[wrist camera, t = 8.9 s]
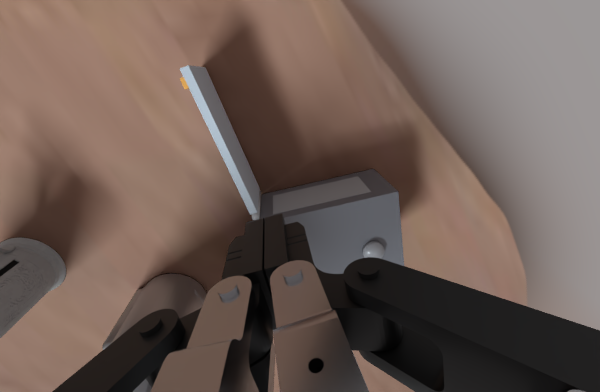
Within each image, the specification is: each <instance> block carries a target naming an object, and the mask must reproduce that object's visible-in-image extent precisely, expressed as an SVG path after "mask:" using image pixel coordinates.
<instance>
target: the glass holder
mask: <svg viewBox="0 0 600 392" xmlns="http://www.w3.org/2000/svg"><path fill="white" fill-rule="evenodd" d="M65 276H66V267H65V264H64V262H63V260H62V258H61V257H60V255H59V254H58V253H57V252H56V251H55V250H53V249H52V248H51V247H49V246H48V245H46V244H44V243H42V242H39V241H37V240H33V239H29V238H11V239H7V240H5V241H3V242H1V243H0V338H1V337H2V336H3V335H4V334H5V333H6V332H7V331H8V330H9V329H10V328H11V327H12V326H13V325H15V324H16V323H17V322H18V321H19V320H20V319H21V318H22V317H23V316H24V315H25V314H26V313H27V312H28V311H29V310H30V309H31V308H32V307H33V306H34V305H35V304H36V303H37V302H38V301H39V300H40V299H41V298H42V297H43V296H44V295H45V294H46V293H47V292H48V291H51V290H53V289H55V288H57V287H58V286H59V285H61V283H62V282H63V281H64V279H65Z"/></svg>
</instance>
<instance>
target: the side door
mask: <svg viewBox="0 0 600 392" xmlns="http://www.w3.org/2000/svg"><path fill="white" fill-rule="evenodd" d="M180 71H181V73H182V75H183V78H180V80H181V82H182V84H183V86H184V88H185V89H190V91H191V93H192V95H193V97H194V99H195V102H196V104H197V106H198V108H199V110H200V112H201V114H202V116H203V118H204V120H205V122H206V124H207V126H208V128H209V131H210V133H211V135H212V137H213V139H214V141H215V143H216V145H217V147H218V149H219V151H220V153H221V155H222V157H223V159H224V162H225V164H226V166H227V168H228V170H229V172H230V174H231V176H232V178H233V180H234V182H235V184H236V186H237V188H238V191H239V193H240V195H241V197H242V199H243V201H244V203H245V205H246V207H247V209H248V211H249V213H250V215H251V214H252V219H253V220H258V219H259V216H260V204H261V191H260V188H259V186H258V183H257V181H256V179H255V177H254V174H253V172H252V170H251V168H250V166H249V163H248V161H247V159H246V157H245V154H244V152H243V150H242V148H241V145H240V143H239V141H238V139H237V137H236V134H235V132H234V130H233V128H232V125H231V123H230V121H229V119H228V116H227V114H226V112H225V110H224V108H223V105H222V103H221V101H220V99H219V96H218V94H217V92H216V90H215V87H214V85H213V83H212V81H211V79H210V76H209V74H208V72H207V70H206V67H199V66H189V65H188V66H186V67H183V68H180Z"/></svg>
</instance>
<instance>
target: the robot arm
mask: <svg viewBox="0 0 600 392" xmlns="http://www.w3.org/2000/svg"><path fill="white" fill-rule="evenodd" d="M273 338H274V344H273ZM352 350H359V352H360V354H361V355H362V357H363V358H364V359H366V360H367V361H368V362H370V363H371V364H373V365H374V366H376V367H378V368H379V369H381V370H382V371H384V372H385V373H387V374H388V375H390V376H392V377H393V378H395V379H396V380H398V381H399V382H401V383H403V384H404V385H406V386H407V387H409V388H410V389H412V390H413V391H415V392H600V331H599V330H596V329H593V328H590V327H587V326H584V325H581V324H578V323H575V322H572V321H569V320H566V319H562V318H560V317H557V316H554V315H551V314H547V313H545V312H542V311H539V310H535V309H532V308H529V307H526V306H523V305H520V304H517V303H514V302H511V301H508V300H505V299H502V298H499V297H496V296H493V295H490V294H487V293H484V292H481V291H478V290H475V289H472V288H469V287H466V286H463V285H460V284H457V283H454V282H451V281H448V280H444V279H441V278H438V277H435V276H432V275H429V274H426V273H423V272H420V271H417V270H414V269H411V268H408V267H405V266H402V265H399V264H396V263H393V262H390V261H387V260H384V259H380V258H375V257H367V258H361V259H358V260H355V261H353V262H352V263H350V264H349V265H348V266H347V267H346V268H345V270H344V273H343V274H330V273H325V272H323V271H321V270H319V269H318V268H316V266H315V265H314V262H313V259H312V255H311V251H310V247H309V243H308V240H307V236H306V232H305V228H304V226H303V225H302V224H300V223H299V222H294V223H290V224H285V220H284V217H283V214H282V213H281V214H278V215H274V216H270V217H266V218H265V219H264V218H262V219H258V220H254V221H250V222H246V226H245V233H244V235H243V236H239V237H236V238H235V239H234V240H233V241H232V243H231V244H230V245H229V249H228V255H227V258H226V262H225V267H224V271H223V276H222V280H221V281H220V282H218V283H217V284H215V285H214V286H213V287H212V288H211V289H210V290H209V292H208V293H207V295H206V292H205V290H204V288H203V287H202V286H201V285H200V284H199V283H198V282H197V281H195V280H194V279H192V278H190V277H188V276H185V275H181V274H164V275H160V276H158V277H155V278H153V279H152V280H151V281H149V282H148V283H147V285H146V286H145V287H144V288H142V289H138V290H137V291H136V293H135V294H134V296H133V297H132V299H131V301H130V302H129V304H128V305H127V307H126V309H125V310H124V312H123V313H122V315H121V317H120V318H119V320H118V321H117V323H116V325H115V326H114V328H113V329H112V331H111V333H110V334H109V336H108V337H107V339H106V341H105V342H104V344H103V351H102V352H100V353H99V354H98V355H97V356H95V357H94V358H93V359H92V360H91V361H89V362H88V363H87V364H86V365H84V366H83V367H82V368H81V369H80V370H78V371H77V372H76V373H75V374H73V375H72V376H71V377H70V378H69V379H67V380H66V381H65V382H64V383H62V384H61V385H60V386H59V387H58V388H56V389H55V390H54V391H53V392H273V390H274V370H275V354H276V363H277V371H278V379H279V387H280V392H369V391H368V388H367V386H366V383H365V381H364V379H363V376H362V374H361V371H360V369H359V366H358V364H357V362H356V359H355V357H354V354H353V352H352Z"/></svg>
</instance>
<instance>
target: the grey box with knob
mask: <svg viewBox="0 0 600 392" xmlns="http://www.w3.org/2000/svg"><path fill="white" fill-rule="evenodd" d="M281 213H282V214H283V217H284V220H285V224H290V223H294V222H299V223H300V224H302V225H303V226H304V228H305V232H306V236H307V240H308V243H309V247H310V251H311V255H312V259H313V262H314V265H315V266H316V268H318V269H319V270H321V271H323V272H325V273H330V274H343V273H344V270H345V268H346V267H347V266H348V265H349V264H350V263H352V262H353V261H355V260H358V259H361V258H367V257H375V258H380V259H384V260H387V261H390V262H393V263H396V264H399V265H402V266H404V258H403V245H402V233H401V220H400V207H399V194H398V191H397V190H396V189H395V188H394V187H393V186H392V185H391V184H390V183H389V182H387V181H386V180H385V179H384V178H383V177H382V176H381V175H380V174H379V173H378V172H377V171H376V170H374V169H370V170H366V171H362V172H357V173H353V174H349V175H344V176H340V177H336V178H331V179H327V180H323V181H318V182H314V183H310V184H305V185H301V186H297V187H292V188H288V189H284V190H279V191H275V192H270V193H266V194H262V197H261V210H260V219H262V218H264V219H265V218H266V217H270V216H274V215H278V214H281Z"/></svg>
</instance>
